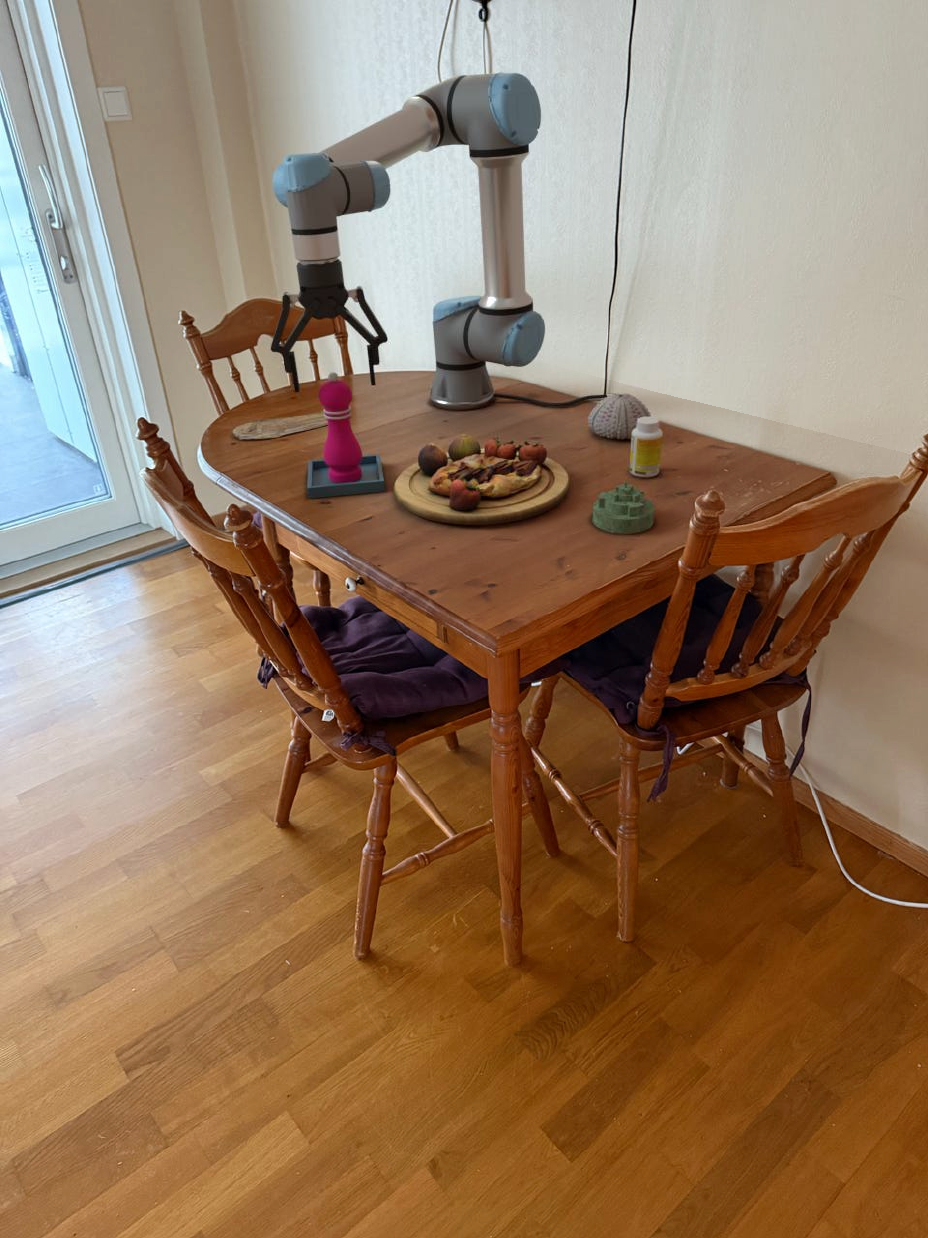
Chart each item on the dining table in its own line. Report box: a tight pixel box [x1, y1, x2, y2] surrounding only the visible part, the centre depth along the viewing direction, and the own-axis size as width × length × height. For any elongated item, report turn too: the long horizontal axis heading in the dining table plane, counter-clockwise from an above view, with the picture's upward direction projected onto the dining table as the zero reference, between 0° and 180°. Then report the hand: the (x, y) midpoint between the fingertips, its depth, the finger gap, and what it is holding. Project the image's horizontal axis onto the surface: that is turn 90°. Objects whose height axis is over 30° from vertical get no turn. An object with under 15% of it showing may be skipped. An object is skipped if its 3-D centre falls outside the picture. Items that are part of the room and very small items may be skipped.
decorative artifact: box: [592, 480, 656, 535], centre depth 137 cm, size 10×7×10 cm
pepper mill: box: [318, 371, 363, 484], centre depth 154 cm, size 7×7×20 cm
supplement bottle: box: [629, 416, 664, 478], centre depth 154 cm, size 6×6×10 cm
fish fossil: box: [232, 412, 328, 440], centre depth 187 cm, size 26×10×1 cm, turn 123°
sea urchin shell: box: [587, 393, 652, 440], centre depth 173 cm, size 13×14×8 cm
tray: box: [306, 453, 386, 500], centre depth 159 cm, size 14×14×2 cm
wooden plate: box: [393, 433, 571, 526], centre depth 150 cm, size 32×32×8 cm
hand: (335, 386), depth 150 cm, fingers open, 13 cm apart
